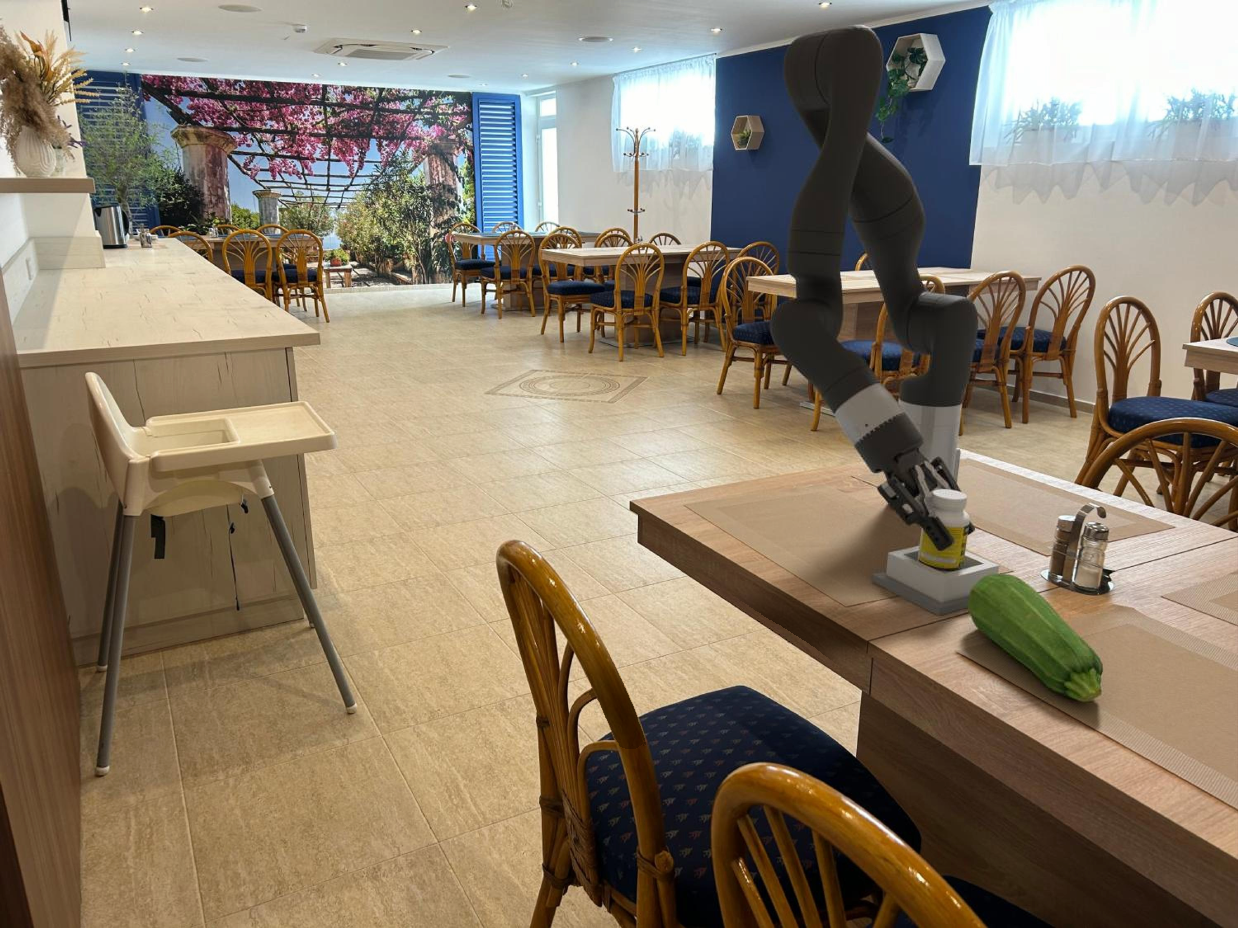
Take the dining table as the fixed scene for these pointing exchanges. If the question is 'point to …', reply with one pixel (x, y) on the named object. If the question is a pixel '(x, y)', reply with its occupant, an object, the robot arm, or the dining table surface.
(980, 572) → the board
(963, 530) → the supplement bottle
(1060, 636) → the vegetable
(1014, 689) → the dining table surface
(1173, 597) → the dining table surface
